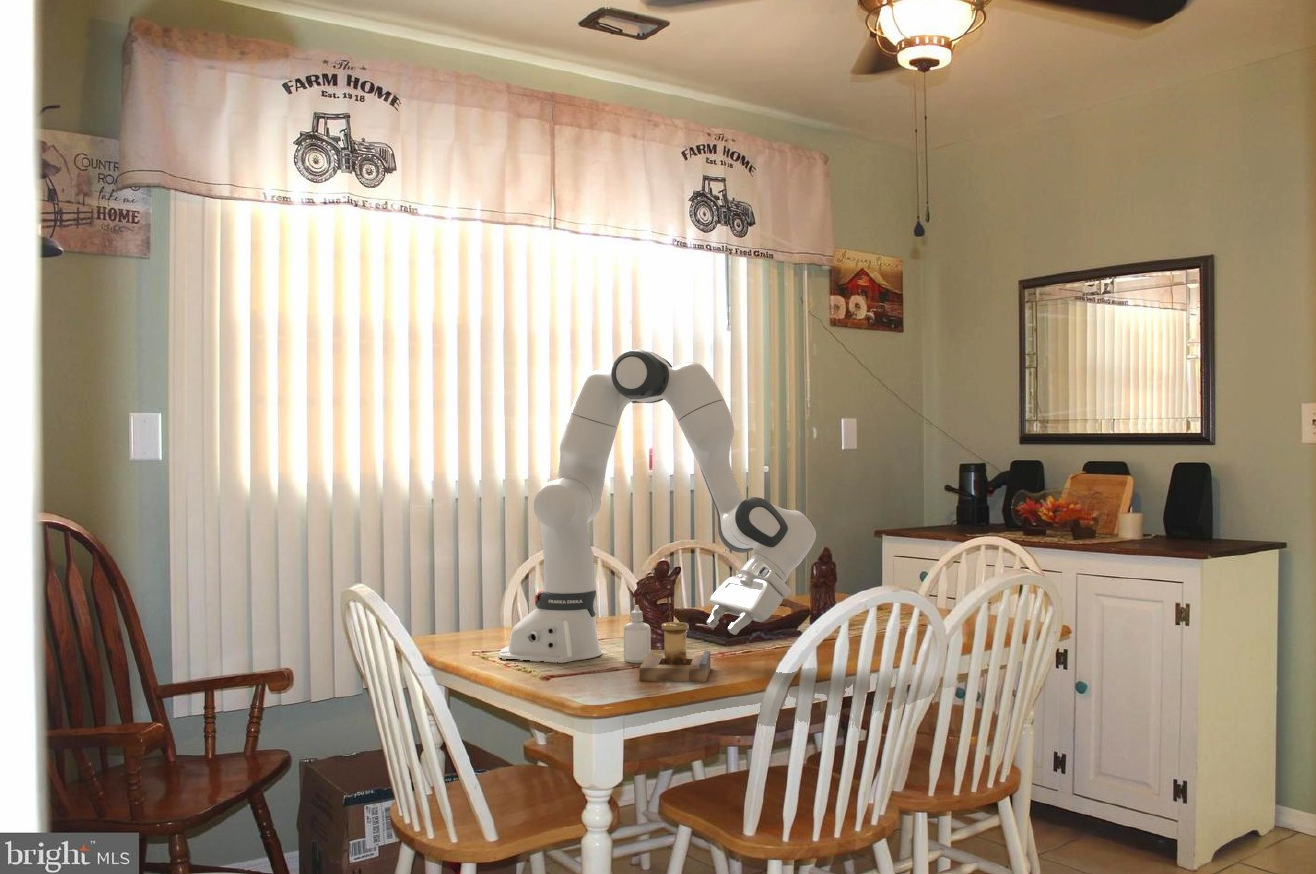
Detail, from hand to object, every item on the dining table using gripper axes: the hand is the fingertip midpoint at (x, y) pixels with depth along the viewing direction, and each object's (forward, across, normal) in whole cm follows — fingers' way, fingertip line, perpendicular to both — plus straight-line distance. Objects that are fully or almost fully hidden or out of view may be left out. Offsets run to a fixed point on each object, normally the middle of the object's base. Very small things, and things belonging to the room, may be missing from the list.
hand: (720, 629), depth 211 cm
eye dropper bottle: (+14, -15, -3) cm, 21 cm away
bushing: (+13, 0, -1) cm, 13 cm away
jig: (+13, 0, -1) cm, 13 cm away
